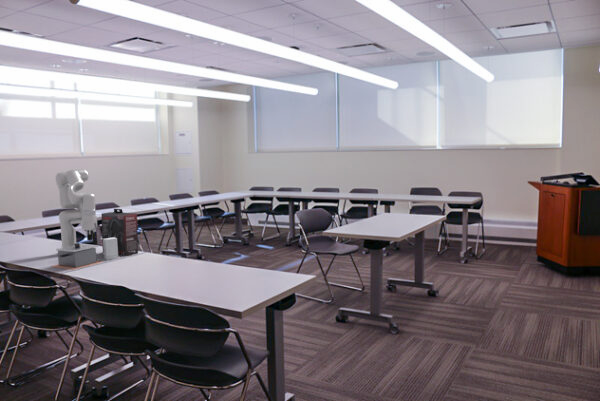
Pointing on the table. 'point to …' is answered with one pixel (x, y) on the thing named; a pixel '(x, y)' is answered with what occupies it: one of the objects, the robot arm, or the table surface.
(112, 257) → the skincare box
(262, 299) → the table surface
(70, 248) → the lid
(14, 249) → the table surface
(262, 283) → the table surface
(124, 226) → the headset box
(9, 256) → the table surface
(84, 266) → the trivet mat
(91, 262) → the gray storage bin
